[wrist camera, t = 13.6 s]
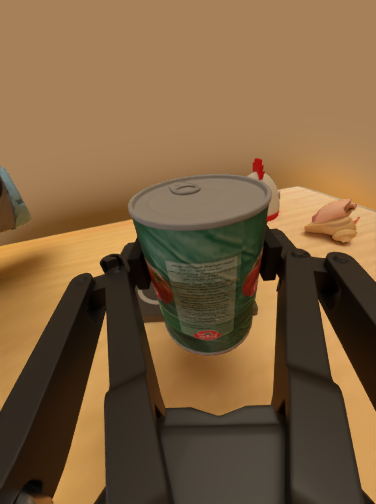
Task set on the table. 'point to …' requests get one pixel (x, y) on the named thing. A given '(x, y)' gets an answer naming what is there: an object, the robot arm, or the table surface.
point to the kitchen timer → (266, 179)
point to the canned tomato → (204, 255)
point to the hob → (156, 305)
